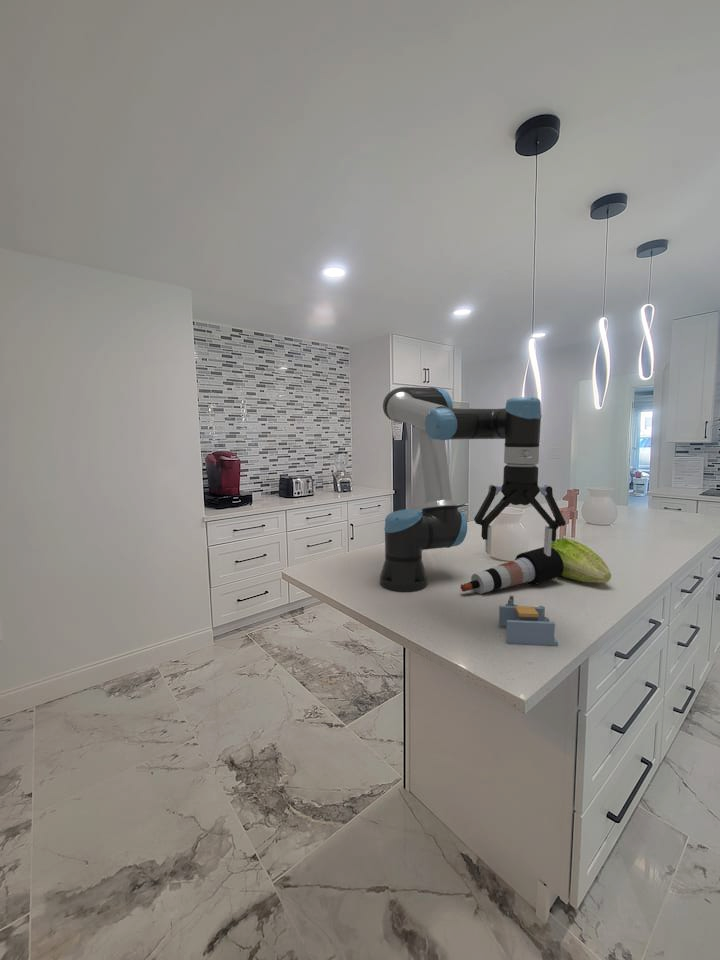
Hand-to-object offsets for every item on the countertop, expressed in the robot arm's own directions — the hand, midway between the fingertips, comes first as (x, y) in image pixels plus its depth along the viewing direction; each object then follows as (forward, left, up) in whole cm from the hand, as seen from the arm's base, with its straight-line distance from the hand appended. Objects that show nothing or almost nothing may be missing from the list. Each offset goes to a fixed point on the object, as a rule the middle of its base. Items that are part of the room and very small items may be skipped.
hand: (517, 553), depth 97 cm
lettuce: (+28, +37, -19) cm, 50 cm away
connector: (+1, -4, -18) cm, 19 cm away
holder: (+1, -4, -18) cm, 19 cm away
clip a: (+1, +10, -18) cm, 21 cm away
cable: (+5, +28, -19) cm, 34 cm away
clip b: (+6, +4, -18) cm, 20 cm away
